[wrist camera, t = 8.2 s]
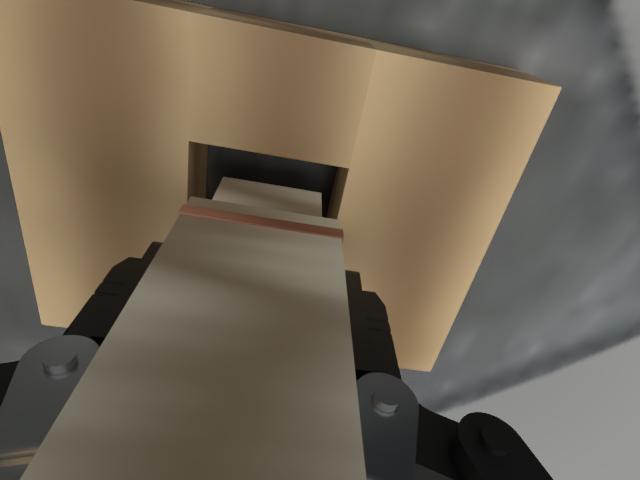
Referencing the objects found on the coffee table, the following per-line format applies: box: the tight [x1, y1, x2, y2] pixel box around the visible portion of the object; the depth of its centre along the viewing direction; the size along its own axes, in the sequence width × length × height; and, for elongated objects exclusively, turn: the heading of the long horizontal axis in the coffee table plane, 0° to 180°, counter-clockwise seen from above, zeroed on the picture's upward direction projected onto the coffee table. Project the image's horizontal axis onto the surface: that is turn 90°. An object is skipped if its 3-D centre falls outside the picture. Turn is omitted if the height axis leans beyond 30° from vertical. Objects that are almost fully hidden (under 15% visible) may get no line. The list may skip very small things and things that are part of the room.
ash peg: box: [20, 177, 366, 480], centre depth 10 cm, size 4×4×10 cm
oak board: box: [0, 0, 562, 372], centre depth 16 cm, size 16×12×3 cm
